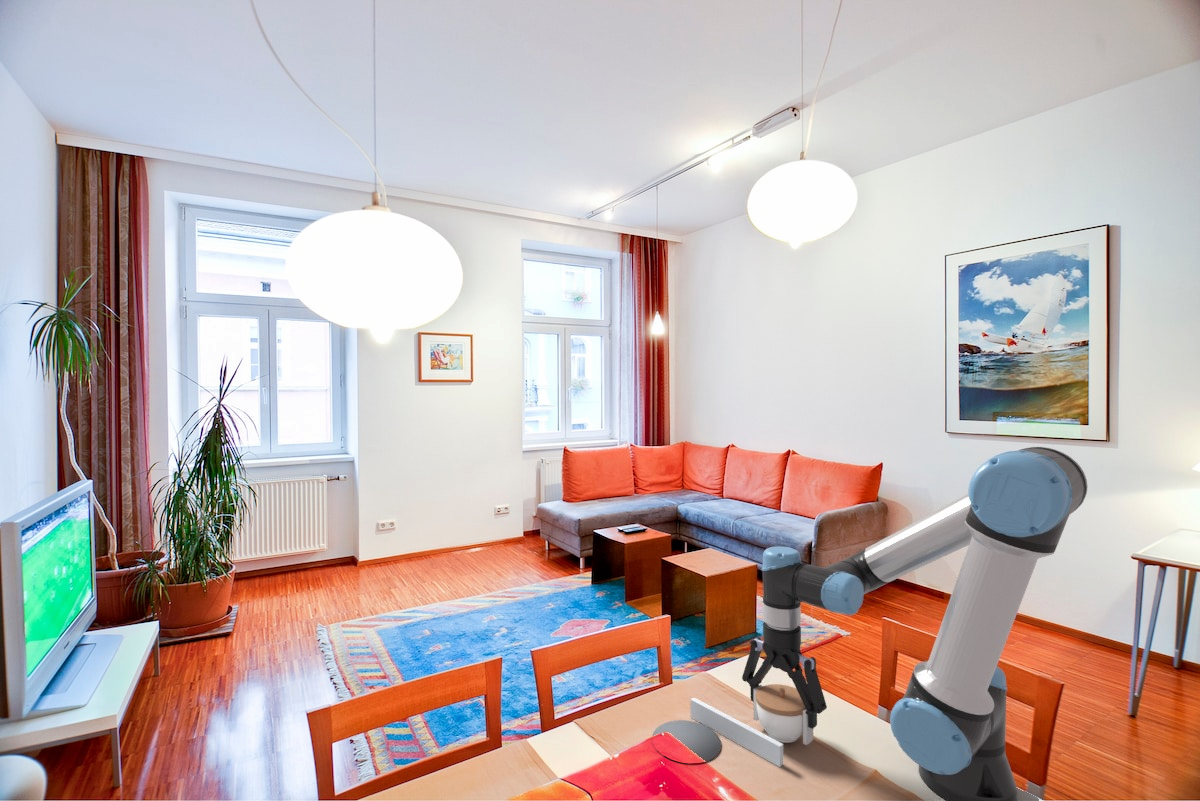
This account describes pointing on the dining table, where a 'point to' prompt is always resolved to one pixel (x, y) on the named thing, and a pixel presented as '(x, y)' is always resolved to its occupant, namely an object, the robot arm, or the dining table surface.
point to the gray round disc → (693, 737)
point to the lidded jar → (780, 712)
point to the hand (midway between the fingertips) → (782, 729)
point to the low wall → (737, 732)
